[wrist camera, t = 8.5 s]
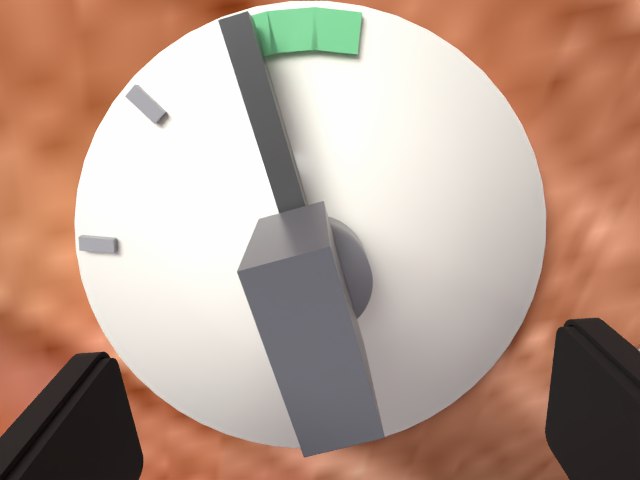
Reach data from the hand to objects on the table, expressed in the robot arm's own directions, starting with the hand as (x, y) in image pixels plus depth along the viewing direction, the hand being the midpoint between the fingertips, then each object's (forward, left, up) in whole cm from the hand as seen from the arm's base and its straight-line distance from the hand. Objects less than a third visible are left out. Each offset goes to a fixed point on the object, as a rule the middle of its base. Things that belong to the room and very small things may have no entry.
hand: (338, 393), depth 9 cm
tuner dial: (0, +1, -11) cm, 11 cm away
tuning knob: (+1, -3, -9) cm, 10 cm away
